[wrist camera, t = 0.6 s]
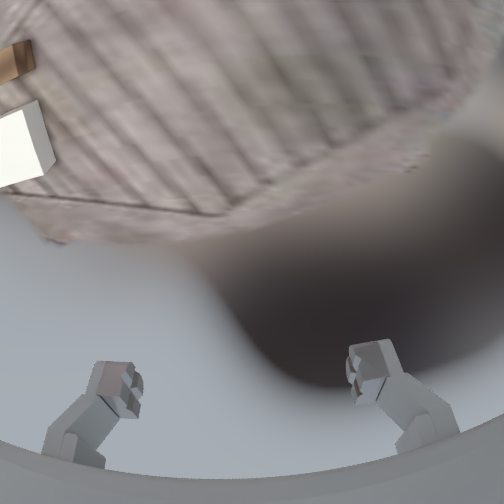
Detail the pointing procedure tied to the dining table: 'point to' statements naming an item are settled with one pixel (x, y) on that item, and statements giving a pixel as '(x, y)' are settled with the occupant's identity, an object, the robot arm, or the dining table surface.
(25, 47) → the walnut cube
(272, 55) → the dining table surface
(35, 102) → the base block
